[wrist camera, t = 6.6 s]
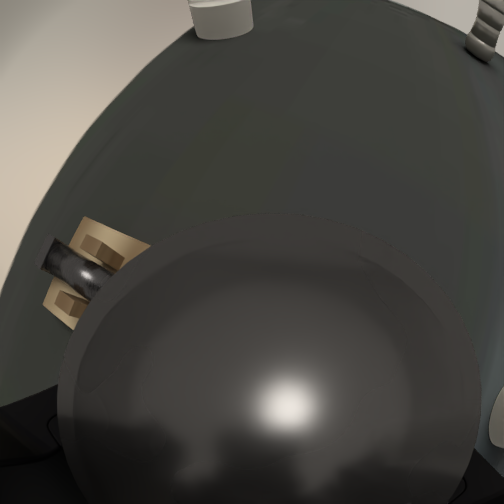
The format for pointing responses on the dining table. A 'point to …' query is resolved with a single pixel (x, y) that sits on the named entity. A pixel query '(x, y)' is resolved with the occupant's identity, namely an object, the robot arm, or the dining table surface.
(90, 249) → the dock
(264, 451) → the grey metallic cylinder
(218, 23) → the base with upright slab
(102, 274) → the lock pin
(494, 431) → the cylindrical container
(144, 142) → the dining table surface
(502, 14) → the plastic bottle
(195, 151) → the dining table surface
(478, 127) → the dining table surface
